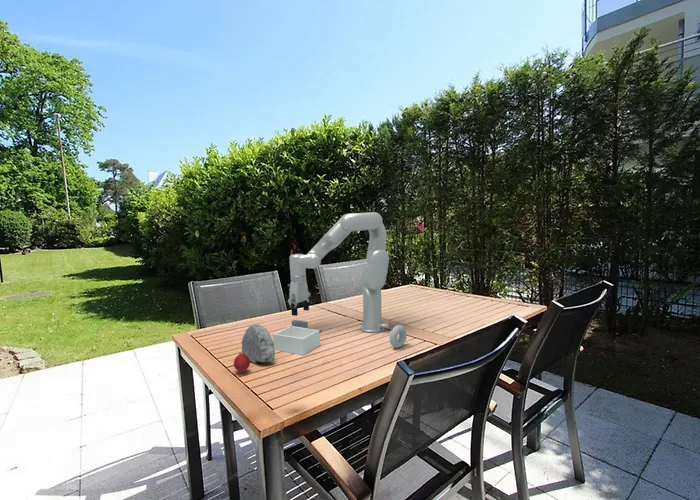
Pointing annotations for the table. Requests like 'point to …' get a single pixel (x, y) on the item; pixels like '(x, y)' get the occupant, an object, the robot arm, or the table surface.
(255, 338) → the decorative rock
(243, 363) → the onion
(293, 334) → the tub
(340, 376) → the table surface
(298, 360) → the table surface
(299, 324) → the lid
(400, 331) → the donut
